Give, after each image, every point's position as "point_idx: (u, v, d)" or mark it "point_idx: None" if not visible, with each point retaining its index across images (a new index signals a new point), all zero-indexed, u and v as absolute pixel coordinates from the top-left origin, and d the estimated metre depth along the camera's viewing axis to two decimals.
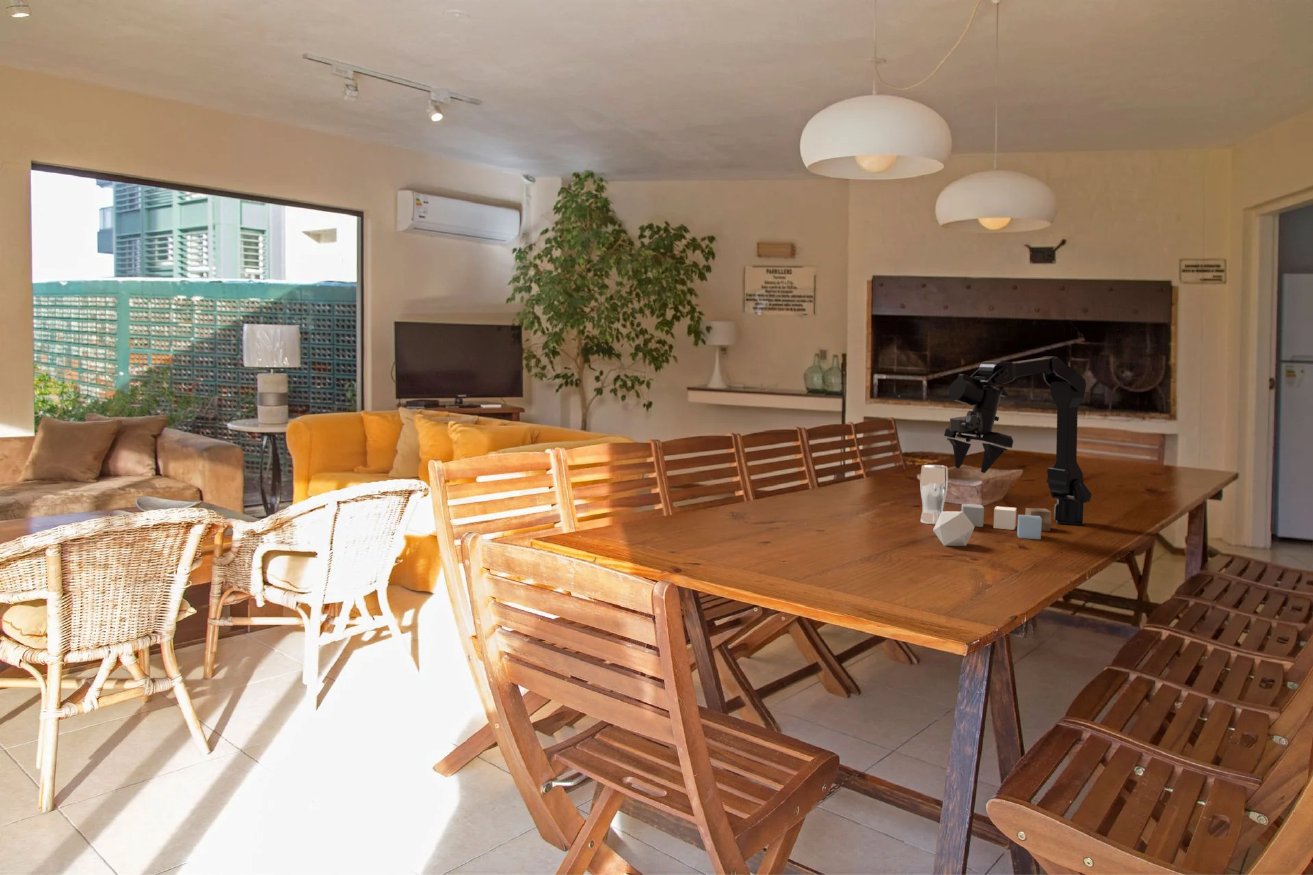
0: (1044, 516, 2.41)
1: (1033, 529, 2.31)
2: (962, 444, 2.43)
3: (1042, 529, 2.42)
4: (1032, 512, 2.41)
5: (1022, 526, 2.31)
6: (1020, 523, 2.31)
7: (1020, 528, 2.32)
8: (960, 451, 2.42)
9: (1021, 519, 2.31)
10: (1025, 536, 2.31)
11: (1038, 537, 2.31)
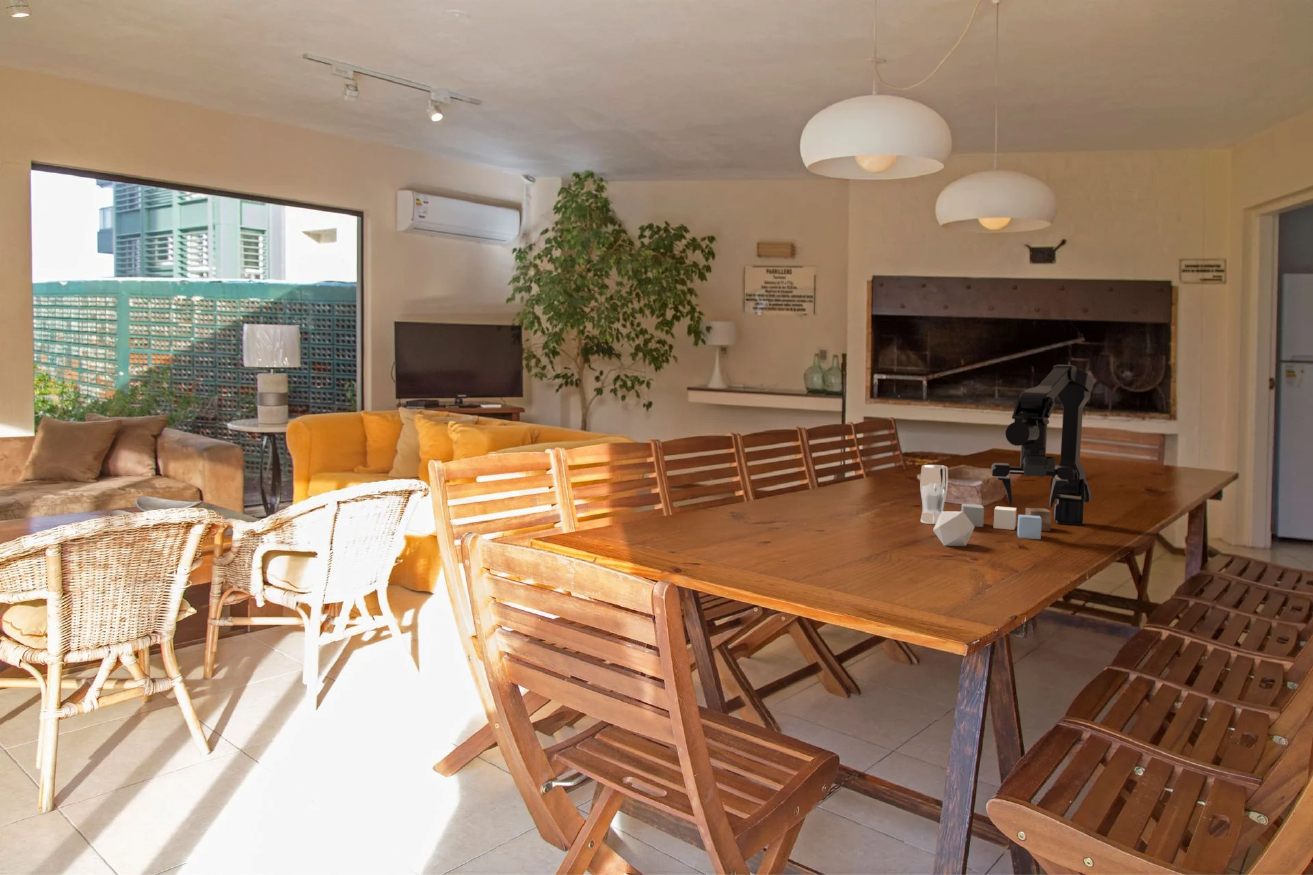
0: (1044, 516, 2.41)
1: (1033, 529, 2.31)
2: None
3: (1042, 529, 2.42)
4: (1032, 512, 2.41)
5: (1022, 526, 2.31)
6: (1020, 523, 2.31)
7: (1020, 528, 2.32)
8: None
9: (1021, 519, 2.31)
10: (1025, 536, 2.31)
11: (1038, 537, 2.31)
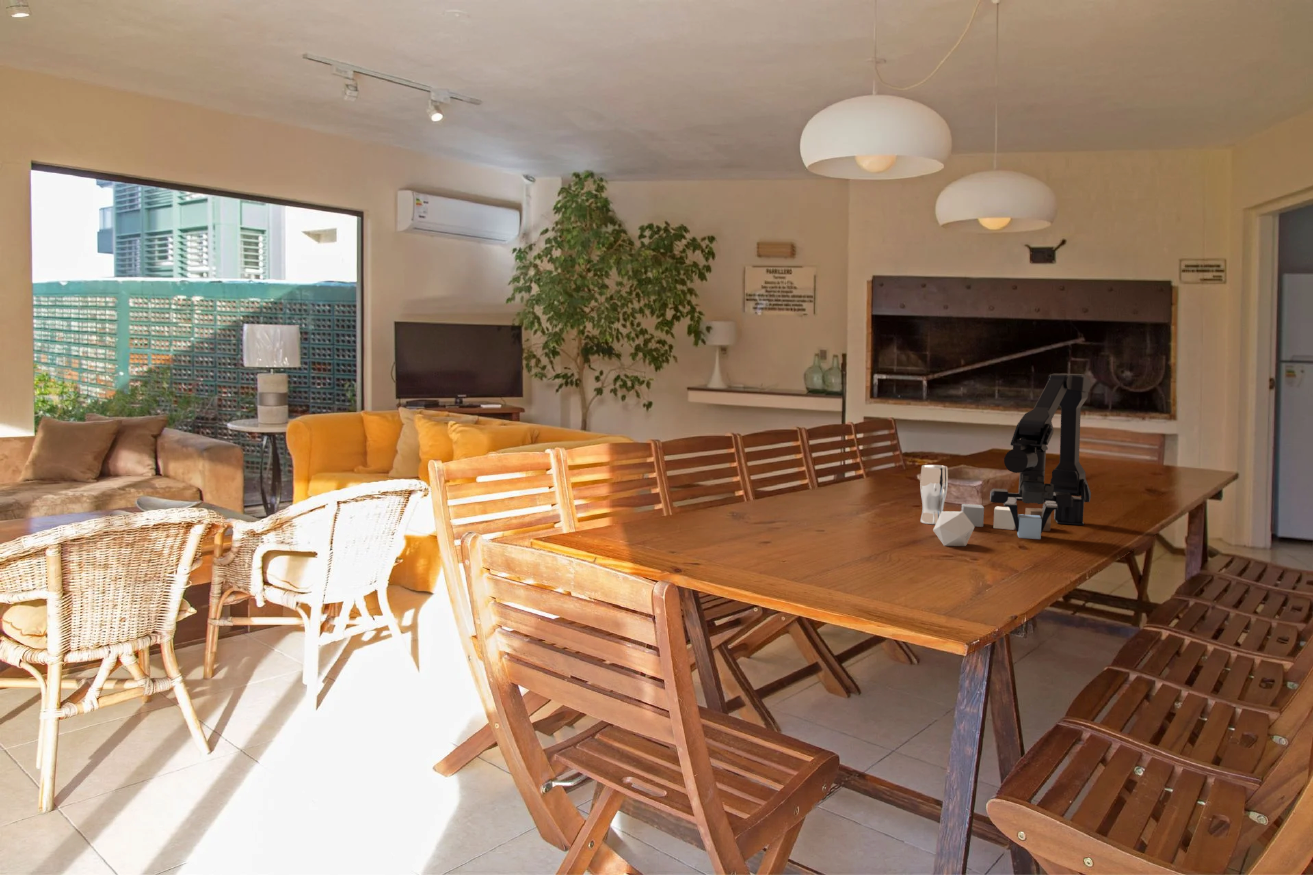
0: None
1: (1033, 529, 2.31)
2: None
3: None
4: (1032, 512, 2.41)
5: (1022, 526, 2.31)
6: (1020, 523, 2.31)
7: (1020, 528, 2.32)
8: None
9: (1021, 519, 2.31)
10: (1025, 536, 2.31)
11: (1038, 536, 2.31)
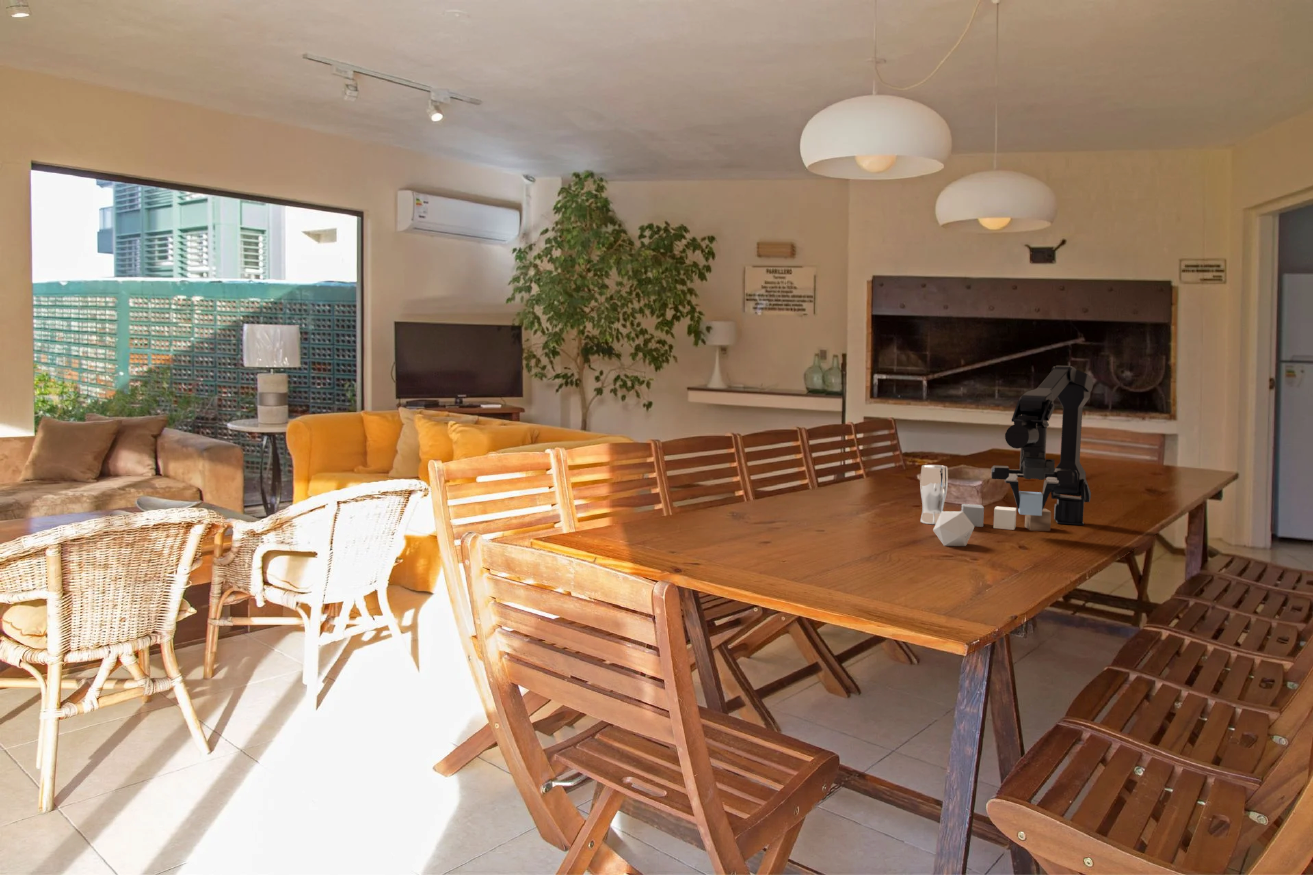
0: (1044, 516, 2.41)
1: (1034, 505, 2.30)
2: None
3: (1042, 529, 2.42)
4: None
5: (1023, 502, 2.31)
6: (1021, 499, 2.31)
7: (1021, 504, 2.31)
8: None
9: (1022, 495, 2.31)
10: (1026, 512, 2.31)
11: (1039, 513, 2.30)
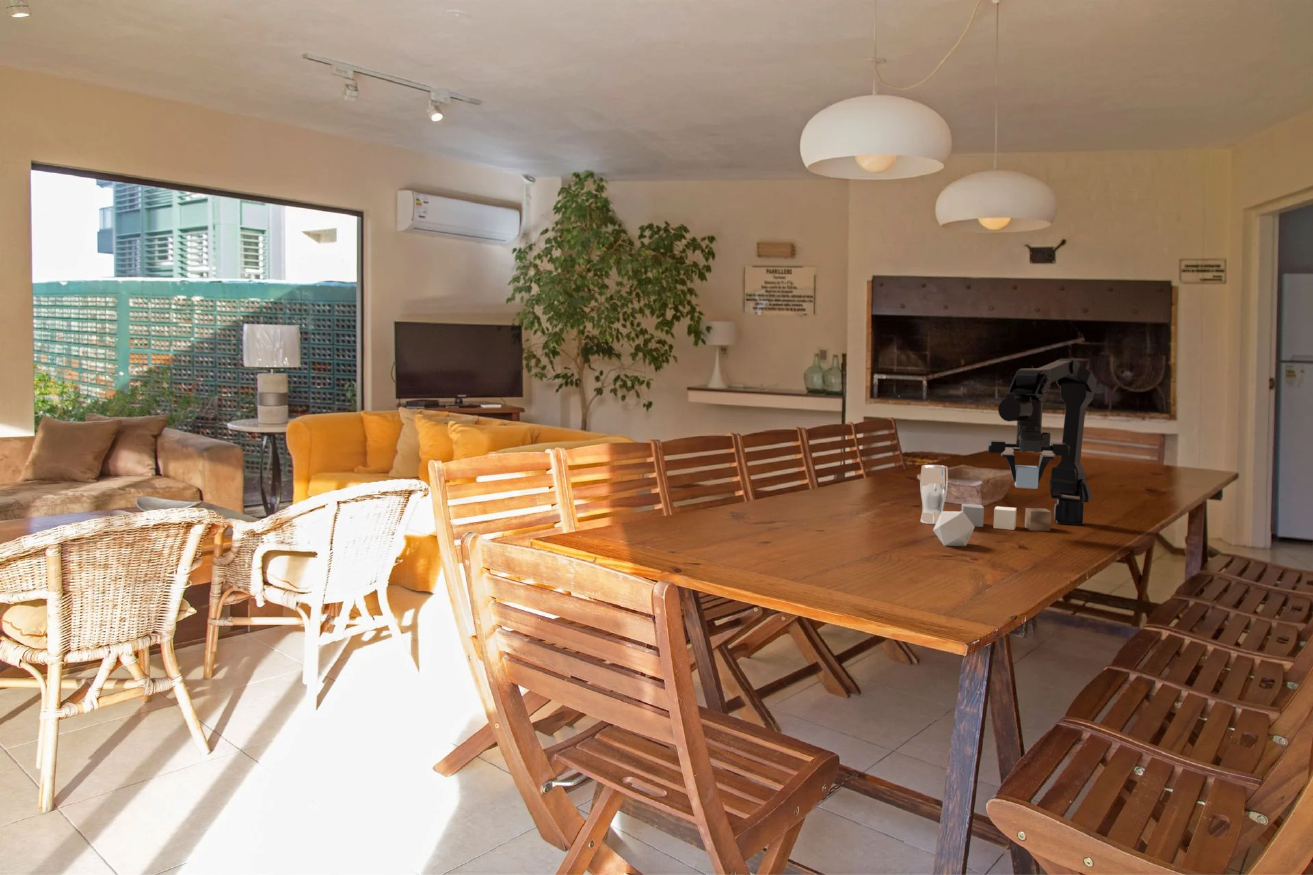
0: (1044, 516, 2.41)
1: (1030, 478, 2.33)
2: None
3: (1042, 529, 2.42)
4: (1032, 512, 2.41)
5: (1019, 475, 2.33)
6: (1017, 472, 2.33)
7: (1017, 477, 2.34)
8: None
9: (1018, 468, 2.33)
10: (1022, 485, 2.33)
11: (1035, 486, 2.32)
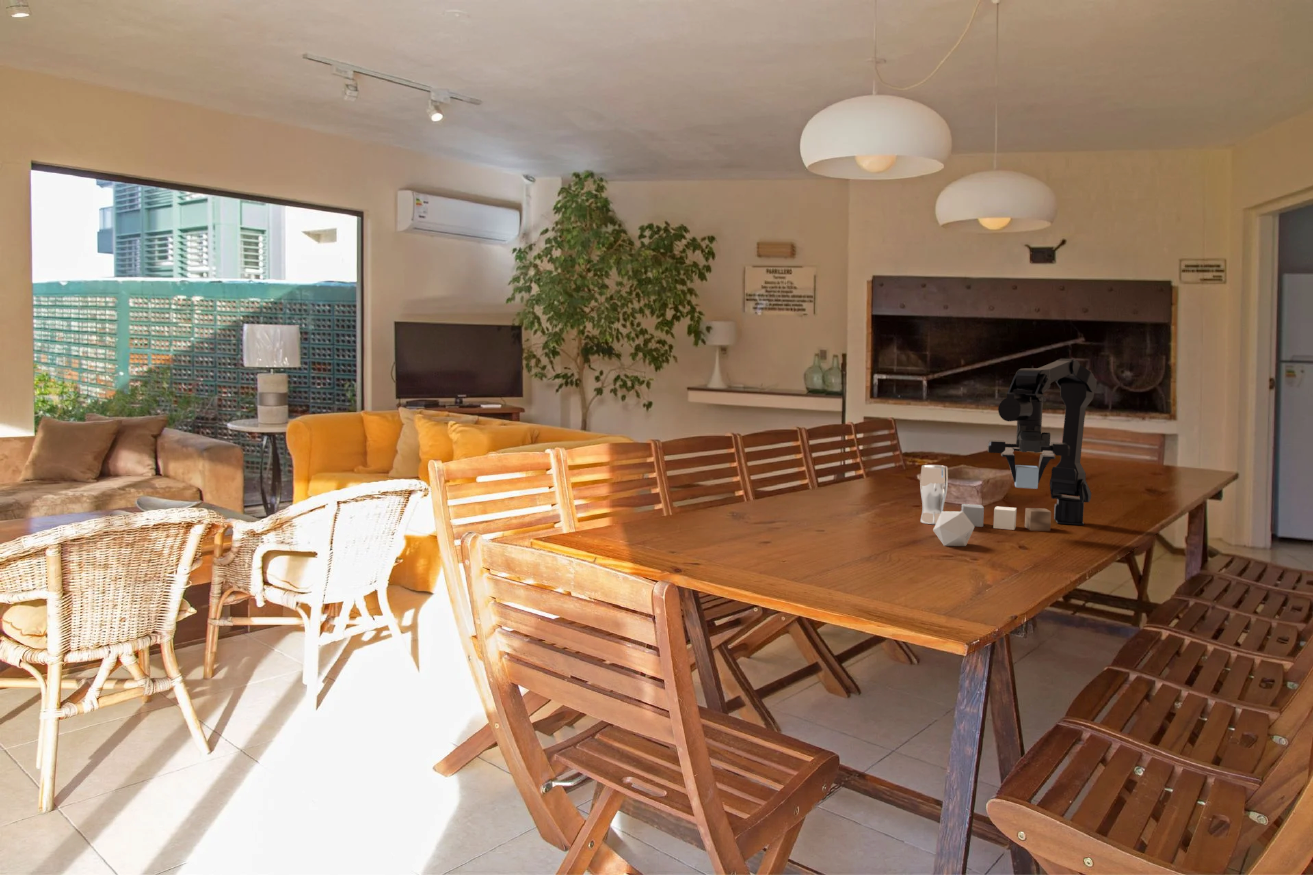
0: (1044, 516, 2.41)
1: (1030, 478, 2.33)
2: None
3: (1042, 529, 2.42)
4: (1032, 512, 2.41)
5: (1019, 475, 2.33)
6: (1017, 472, 2.33)
7: (1017, 477, 2.34)
8: None
9: (1018, 468, 2.33)
10: (1022, 485, 2.33)
11: (1035, 486, 2.32)
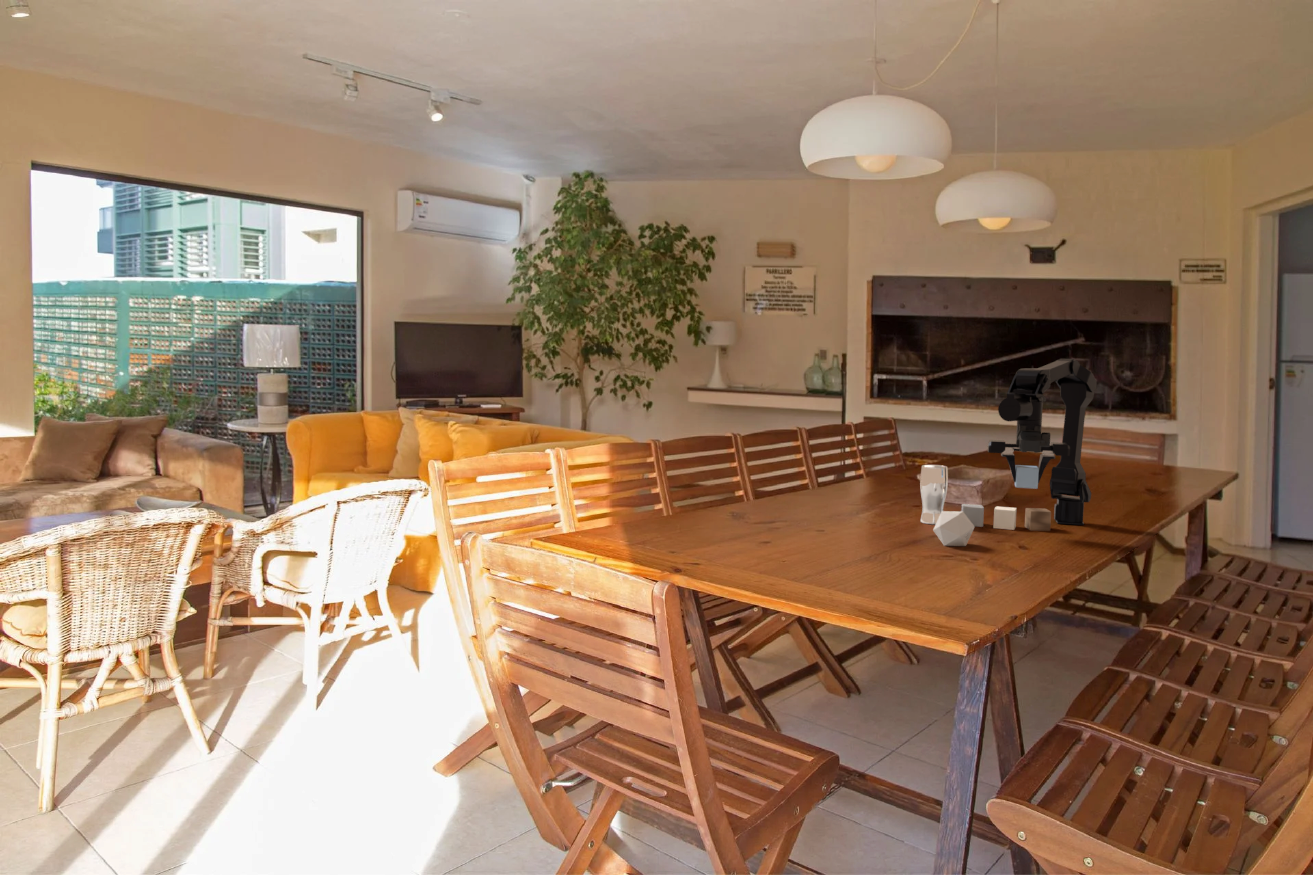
0: (1044, 516, 2.41)
1: (1030, 478, 2.33)
2: None
3: (1042, 529, 2.42)
4: (1032, 512, 2.41)
5: (1019, 475, 2.33)
6: (1017, 472, 2.33)
7: (1017, 477, 2.34)
8: None
9: (1018, 468, 2.33)
10: (1022, 485, 2.33)
11: (1035, 486, 2.32)
